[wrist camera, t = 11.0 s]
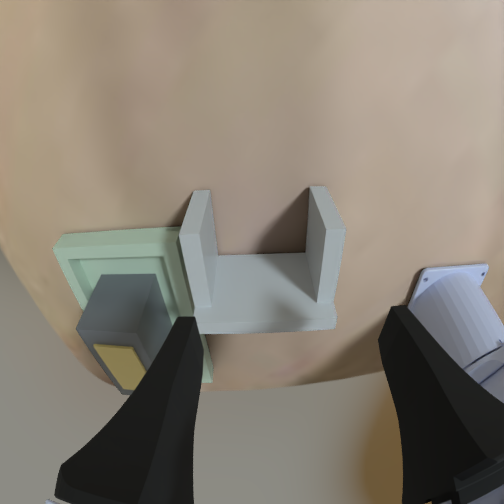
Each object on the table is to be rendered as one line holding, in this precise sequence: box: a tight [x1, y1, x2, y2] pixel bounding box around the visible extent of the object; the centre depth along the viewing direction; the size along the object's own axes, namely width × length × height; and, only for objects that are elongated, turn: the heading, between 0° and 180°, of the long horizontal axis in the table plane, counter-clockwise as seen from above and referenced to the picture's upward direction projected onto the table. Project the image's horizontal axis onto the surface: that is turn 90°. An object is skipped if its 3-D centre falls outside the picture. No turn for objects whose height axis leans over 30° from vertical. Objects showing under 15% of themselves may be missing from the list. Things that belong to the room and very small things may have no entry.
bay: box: [179, 186, 346, 334], centre depth 18 cm, size 6×8×6 cm
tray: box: [52, 226, 213, 383], centre depth 24 cm, size 17×10×2 cm, turn 2°
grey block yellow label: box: [76, 274, 173, 395], centre depth 22 cm, size 9×5×6 cm, turn 2°
